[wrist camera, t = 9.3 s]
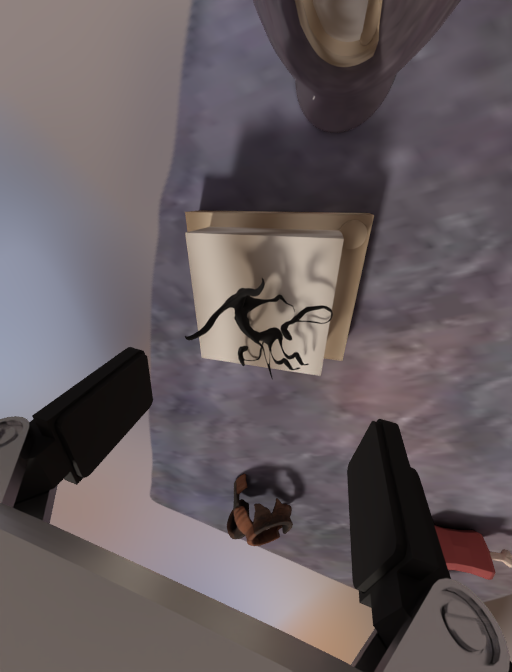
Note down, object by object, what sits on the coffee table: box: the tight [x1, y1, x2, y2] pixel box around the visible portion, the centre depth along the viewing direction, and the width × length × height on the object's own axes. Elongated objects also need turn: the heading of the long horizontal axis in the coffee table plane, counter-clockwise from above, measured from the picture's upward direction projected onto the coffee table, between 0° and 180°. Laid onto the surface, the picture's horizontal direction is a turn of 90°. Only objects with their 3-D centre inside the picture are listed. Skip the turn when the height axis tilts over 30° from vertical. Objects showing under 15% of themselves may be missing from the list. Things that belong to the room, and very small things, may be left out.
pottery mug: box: [227, 474, 293, 546], centre depth 40 cm, size 12×10×8 cm
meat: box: [434, 525, 512, 580], centre depth 32 cm, size 12×5×5 cm, turn 101°
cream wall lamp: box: [185, 211, 374, 376], centre depth 20 cm, size 14×12×7 cm
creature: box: [185, 278, 333, 380], centre depth 16 cm, size 8×5×8 cm
